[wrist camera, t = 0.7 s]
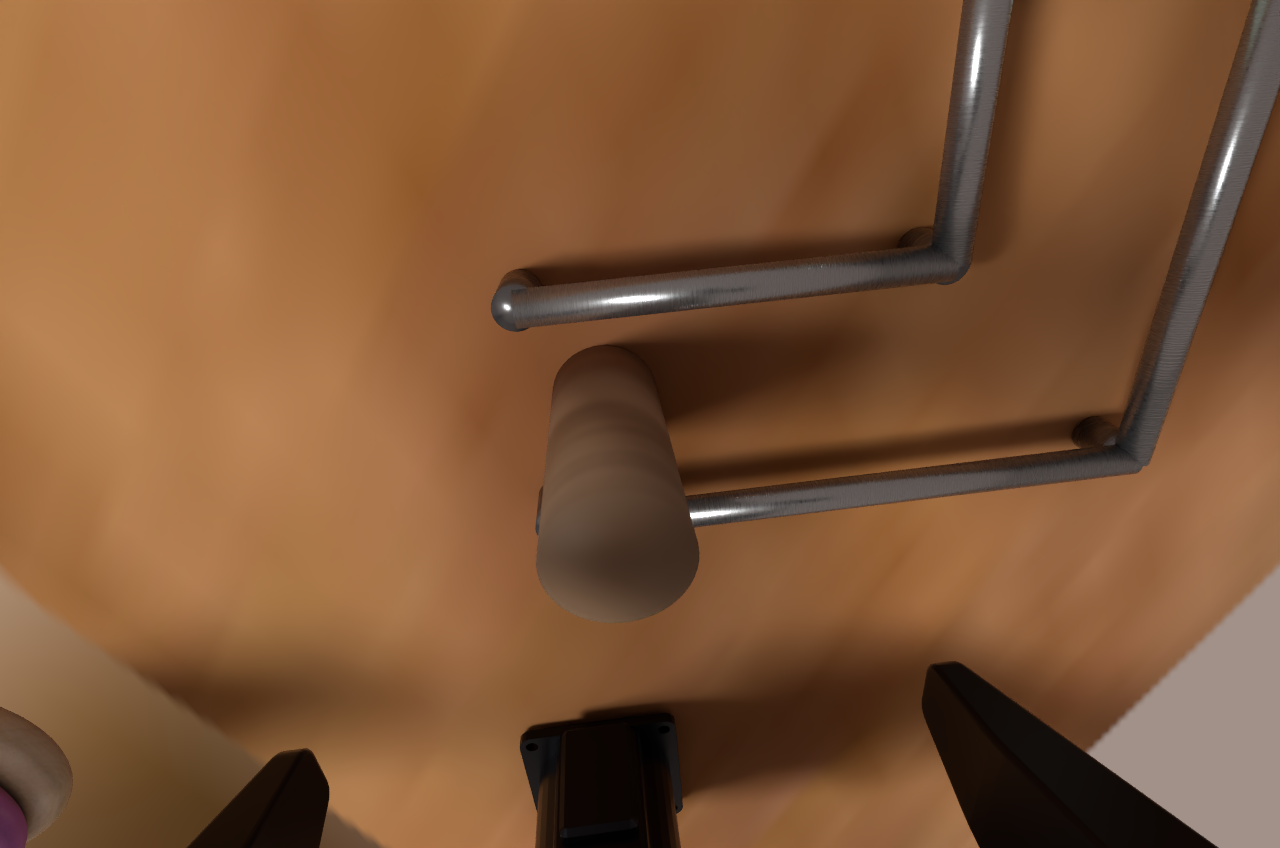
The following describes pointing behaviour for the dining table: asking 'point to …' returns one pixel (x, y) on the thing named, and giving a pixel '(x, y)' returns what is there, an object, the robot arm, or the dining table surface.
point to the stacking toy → (29, 780)
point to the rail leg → (724, 286)
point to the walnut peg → (612, 494)
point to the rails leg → (1264, 63)
